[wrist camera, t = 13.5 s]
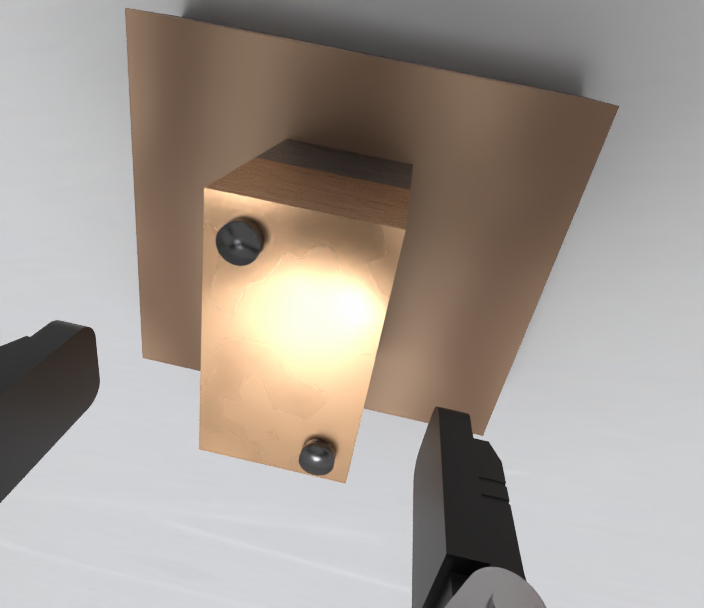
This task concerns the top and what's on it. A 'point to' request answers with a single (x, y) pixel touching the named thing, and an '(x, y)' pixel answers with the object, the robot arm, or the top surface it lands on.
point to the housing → (296, 302)
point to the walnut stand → (374, 140)
